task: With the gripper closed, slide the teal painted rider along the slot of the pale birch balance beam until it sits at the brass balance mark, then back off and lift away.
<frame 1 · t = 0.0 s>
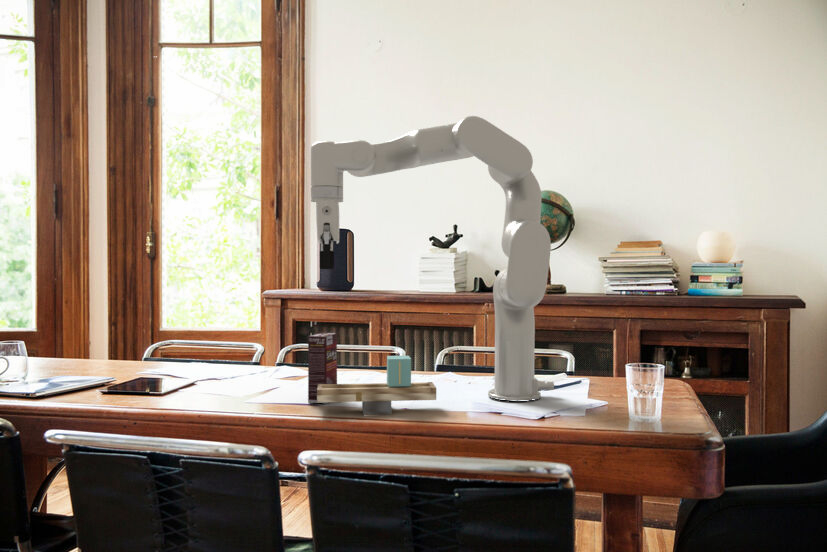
hand: (327, 268, 164), 32 cm above the table, tool pointing down, fingers open, 9 cm apart
beam: (376, 411, 156), on the table
rider: (398, 373, 156), point 8 cm above the table, slide at -5.0 cm
supplement box: (323, 401, 168), on the table
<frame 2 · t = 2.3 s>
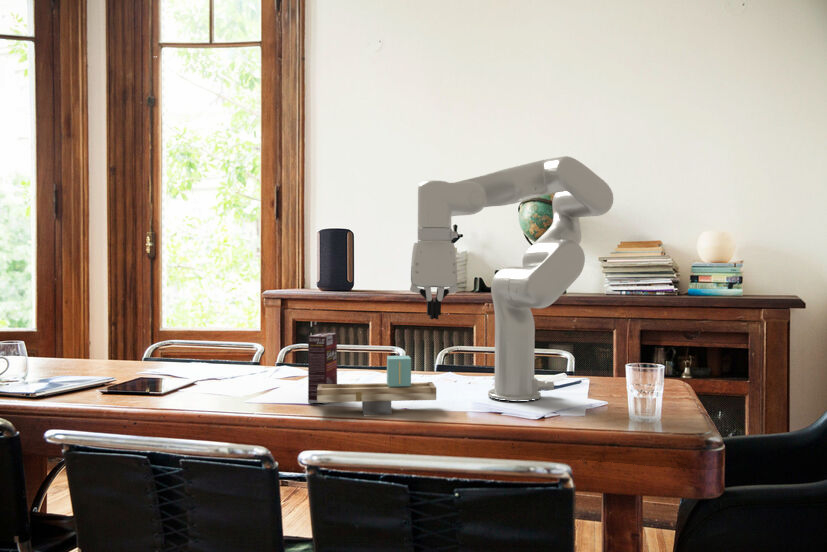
hand: (433, 318, 157), 21 cm above the table, tool pointing down, fingers closed
nothing on the table moved.
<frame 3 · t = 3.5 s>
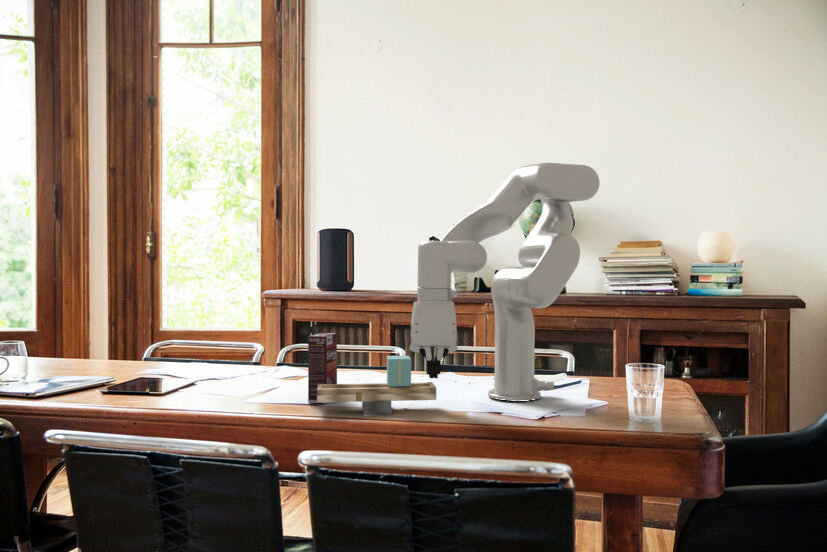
hand: (433, 377, 157), 7 cm above the table, tool pointing down, fingers closed
nothing on the table moved.
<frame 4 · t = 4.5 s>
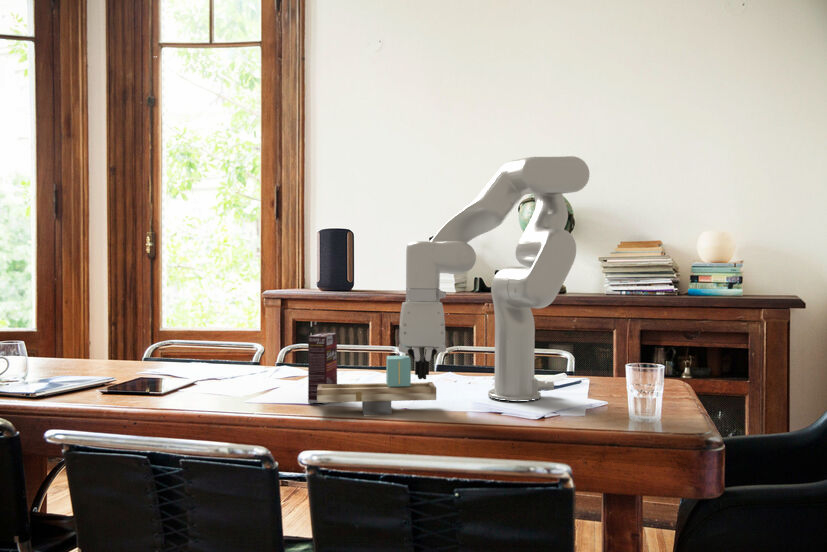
hand: (421, 378, 157), 7 cm above the table, tool pointing down, fingers closed
rider: (398, 373, 156), point 8 cm above the table, slide at -4.9 cm, touching gripper
everything else where it was.
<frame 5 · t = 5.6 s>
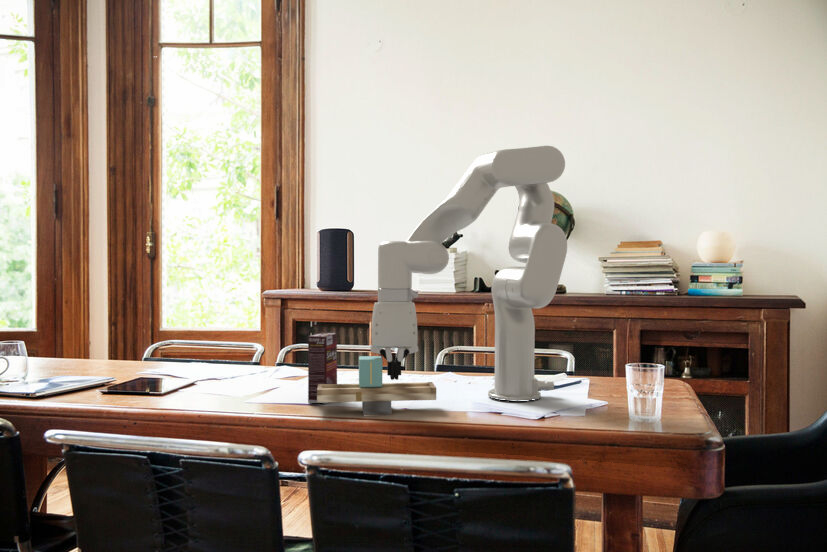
hand: (394, 378, 156), 7 cm above the table, tool pointing down, fingers closed
rider: (370, 374, 156), point 8 cm above the table, slide at 1.3 cm, touching gripper
everything else where it was.
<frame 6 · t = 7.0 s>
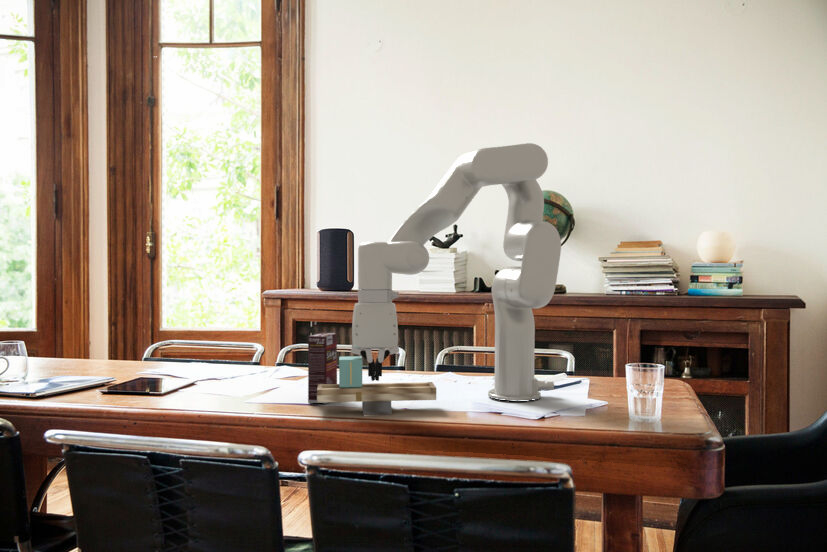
hand: (375, 379, 156), 7 cm above the table, tool pointing down, fingers closed
rider: (350, 374, 155), point 8 cm above the table, slide at 5.7 cm
everything else where it was.
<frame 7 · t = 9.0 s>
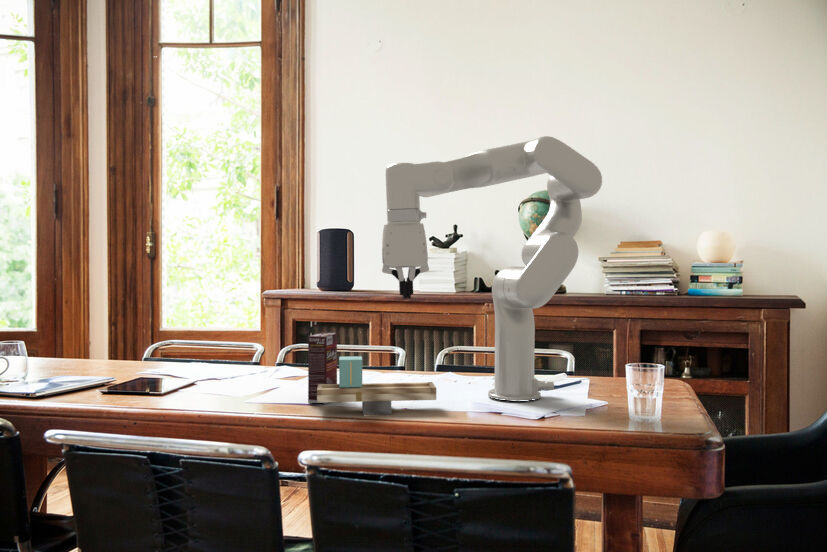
hand: (406, 298, 160), 25 cm above the table, tool pointing down, fingers closed
nothing on the table moved.
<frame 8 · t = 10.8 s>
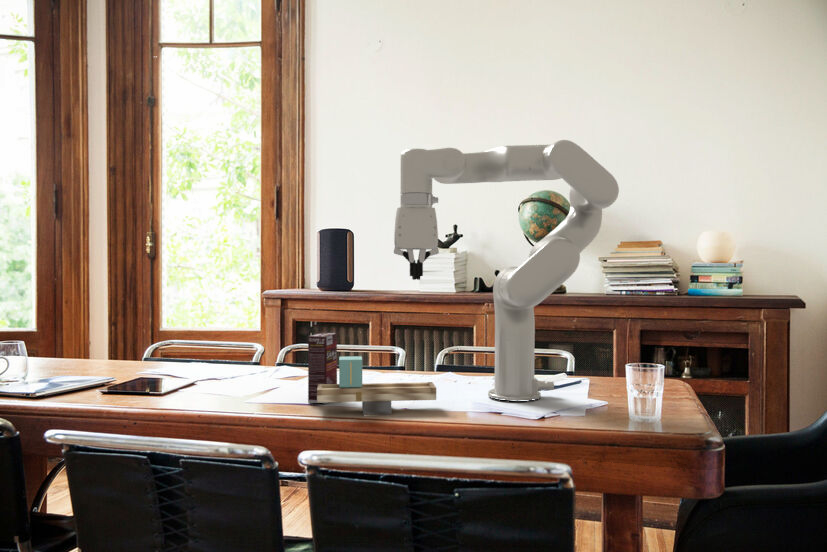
hand: (416, 279, 166), 29 cm above the table, tool pointing down, fingers closed
nothing on the table moved.
at the end: rider slide at 5.7 cm; the gripper is holding nothing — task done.
